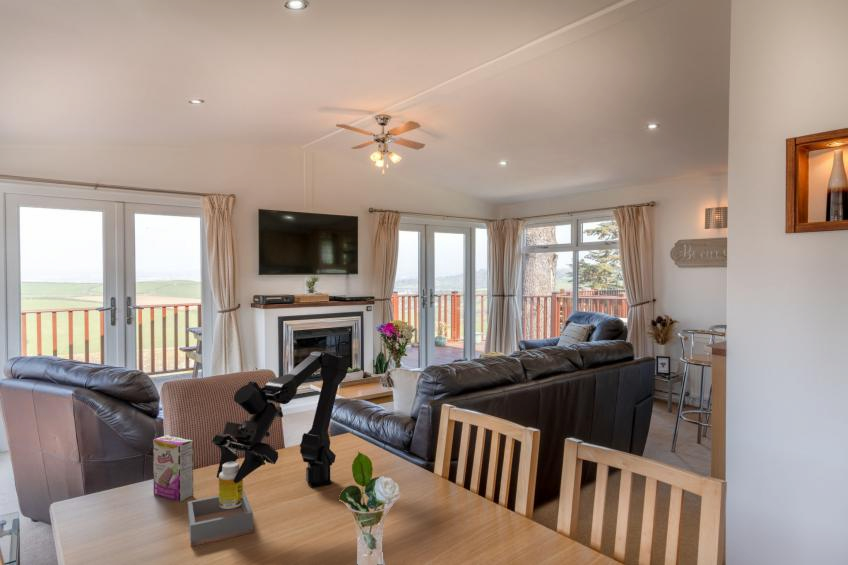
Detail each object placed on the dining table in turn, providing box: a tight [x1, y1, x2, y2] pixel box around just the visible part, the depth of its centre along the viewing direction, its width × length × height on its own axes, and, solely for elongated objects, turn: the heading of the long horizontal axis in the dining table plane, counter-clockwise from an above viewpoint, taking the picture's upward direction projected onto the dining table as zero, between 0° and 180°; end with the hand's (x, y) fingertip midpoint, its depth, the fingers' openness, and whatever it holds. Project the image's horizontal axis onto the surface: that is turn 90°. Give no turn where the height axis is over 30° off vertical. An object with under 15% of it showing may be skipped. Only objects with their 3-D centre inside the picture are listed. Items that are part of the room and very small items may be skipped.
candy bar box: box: [152, 434, 194, 503], centre depth 146 cm, size 11×5×16 cm, turn 65°
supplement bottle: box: [218, 460, 244, 509], centre depth 126 cm, size 6×6×10 cm
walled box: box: [187, 490, 254, 547], centre depth 129 cm, size 14×14×5 cm
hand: (226, 480), depth 125 cm, fingers closed on supplement bottle, 6 cm apart
